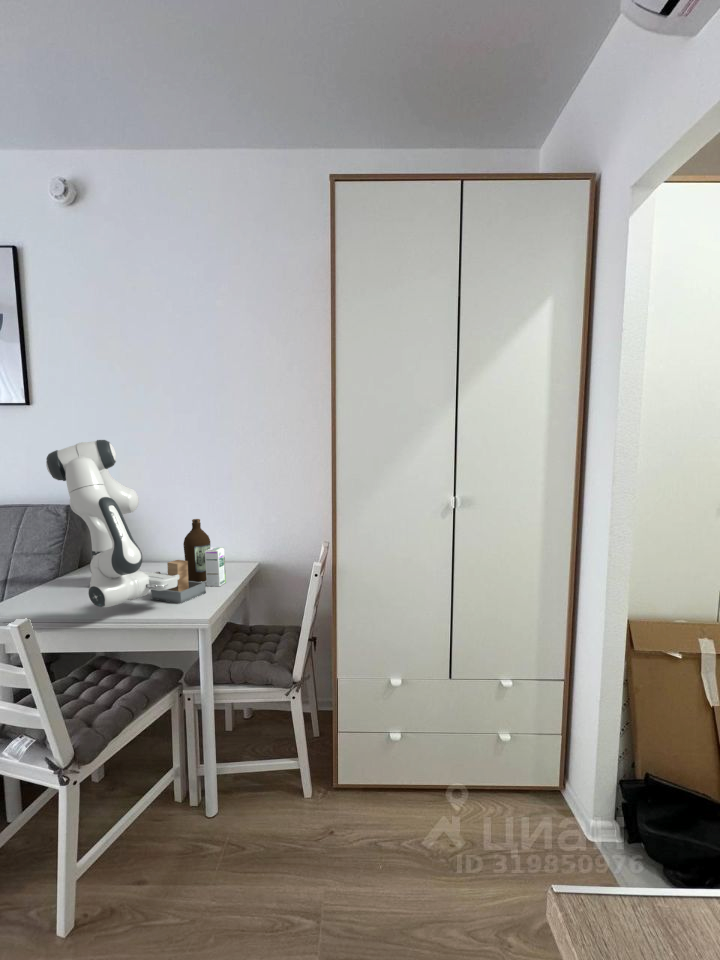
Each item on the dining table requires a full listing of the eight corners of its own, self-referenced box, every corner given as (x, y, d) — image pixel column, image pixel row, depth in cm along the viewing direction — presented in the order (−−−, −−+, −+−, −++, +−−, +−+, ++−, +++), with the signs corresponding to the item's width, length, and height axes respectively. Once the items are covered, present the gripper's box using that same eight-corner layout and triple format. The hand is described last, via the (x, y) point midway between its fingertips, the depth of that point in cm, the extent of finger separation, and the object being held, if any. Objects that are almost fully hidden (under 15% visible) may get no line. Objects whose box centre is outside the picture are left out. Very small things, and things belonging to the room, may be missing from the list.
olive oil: (179, 579, 228) (177, 519, 226) (202, 574, 236) (200, 516, 234) (194, 584, 221) (191, 522, 219) (216, 578, 229) (214, 518, 227)
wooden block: (178, 596, 201) (177, 563, 200) (168, 594, 204) (167, 562, 203) (188, 592, 206) (187, 560, 205) (179, 591, 208) (177, 559, 207)
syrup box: (220, 586, 217) (218, 550, 215) (206, 586, 218) (204, 550, 217) (226, 583, 222) (224, 547, 221) (212, 582, 223) (211, 547, 222)
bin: (177, 589, 214) (176, 579, 213) (205, 593, 208) (205, 582, 208) (151, 599, 201) (150, 588, 201) (181, 603, 196) (180, 592, 195)
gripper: (158, 578, 182) (189, 569, 195) (116, 572, 192) (148, 563, 204) (159, 597, 183) (190, 587, 195) (117, 590, 192) (149, 580, 205)
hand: (168, 575), depth 200 cm, fingers open, 8 cm apart
